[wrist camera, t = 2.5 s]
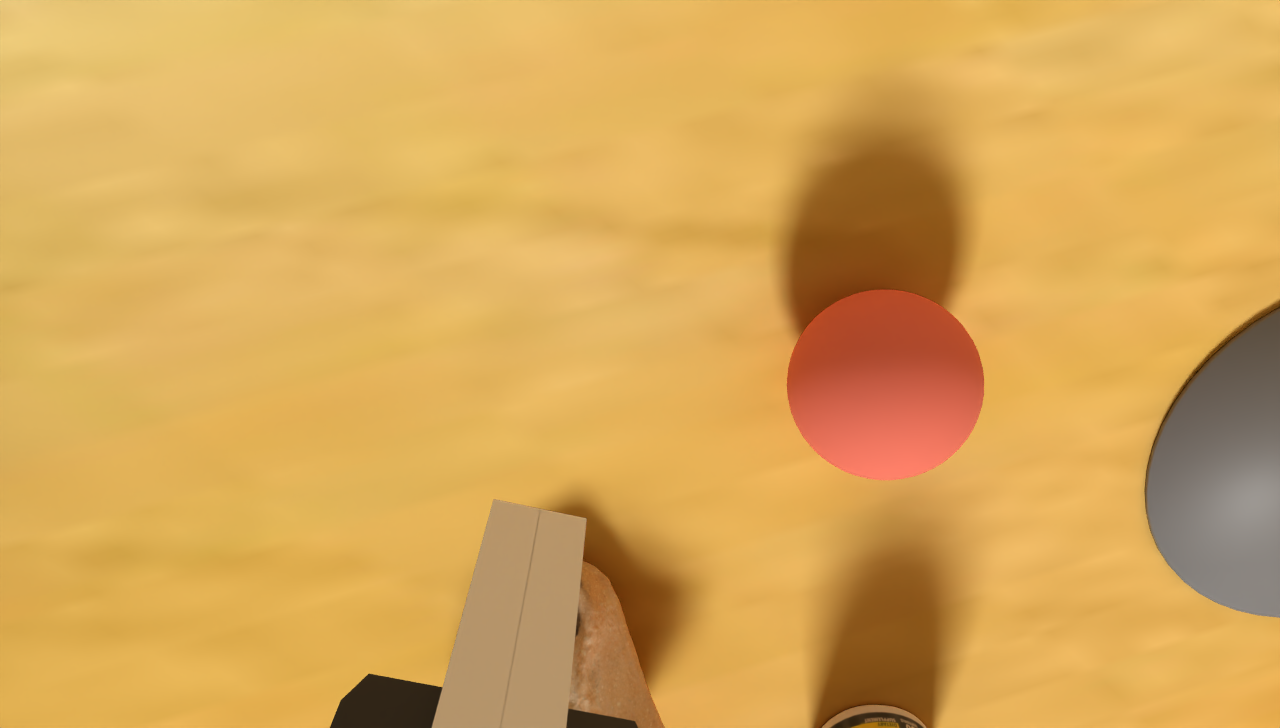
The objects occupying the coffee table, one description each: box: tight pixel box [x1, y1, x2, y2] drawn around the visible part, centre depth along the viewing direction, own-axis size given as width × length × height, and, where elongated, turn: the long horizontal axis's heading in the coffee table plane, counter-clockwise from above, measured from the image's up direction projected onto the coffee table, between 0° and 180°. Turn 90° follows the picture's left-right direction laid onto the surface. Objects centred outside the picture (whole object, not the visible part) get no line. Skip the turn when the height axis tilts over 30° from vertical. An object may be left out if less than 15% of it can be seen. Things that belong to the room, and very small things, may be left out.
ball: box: [787, 290, 984, 480], centre depth 27 cm, size 6×6×6 cm
